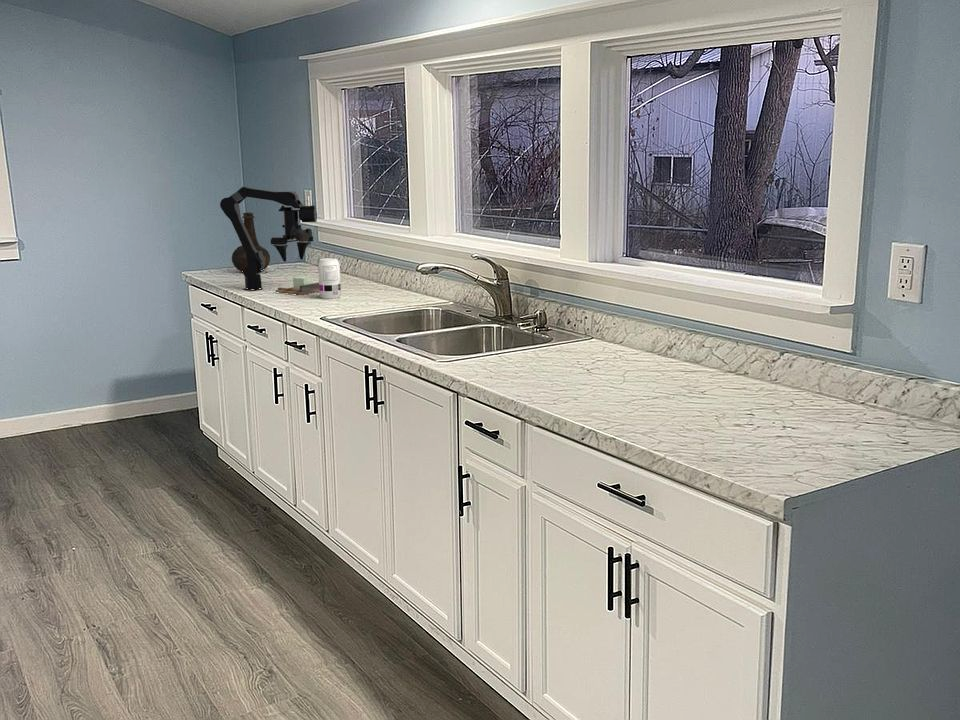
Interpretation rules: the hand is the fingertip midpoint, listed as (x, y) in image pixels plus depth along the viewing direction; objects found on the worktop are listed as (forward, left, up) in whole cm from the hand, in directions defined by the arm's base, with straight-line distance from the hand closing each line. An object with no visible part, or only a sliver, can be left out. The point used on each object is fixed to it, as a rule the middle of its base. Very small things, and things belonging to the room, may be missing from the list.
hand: (293, 260), depth 391 cm
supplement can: (+30, -10, -12) cm, 33 cm away
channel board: (+9, -6, -12) cm, 16 cm away
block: (+11, -6, -11) cm, 16 cm away
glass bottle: (-59, +29, -12) cm, 67 cm away
